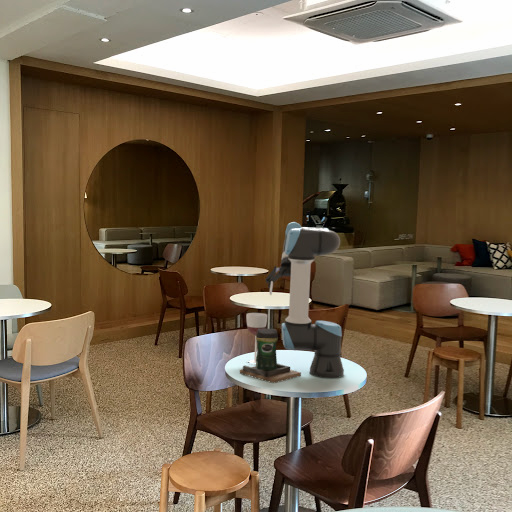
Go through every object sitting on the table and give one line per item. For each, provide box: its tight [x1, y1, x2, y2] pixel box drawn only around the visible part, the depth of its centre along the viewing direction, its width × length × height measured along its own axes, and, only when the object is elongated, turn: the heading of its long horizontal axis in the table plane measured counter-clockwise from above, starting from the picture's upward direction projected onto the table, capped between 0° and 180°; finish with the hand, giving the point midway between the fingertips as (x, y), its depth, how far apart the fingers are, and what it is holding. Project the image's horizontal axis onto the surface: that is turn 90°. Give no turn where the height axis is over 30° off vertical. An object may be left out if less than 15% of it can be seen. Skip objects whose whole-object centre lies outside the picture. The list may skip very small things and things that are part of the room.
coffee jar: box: [254, 328, 279, 371], centre depth 249 cm, size 10×8×19 cm
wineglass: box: [245, 312, 268, 363], centre depth 270 cm, size 9×10×23 cm
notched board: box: [239, 363, 302, 384], centre depth 249 cm, size 20×18×4 cm
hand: (284, 294), depth 273 cm, fingers open, 13 cm apart
